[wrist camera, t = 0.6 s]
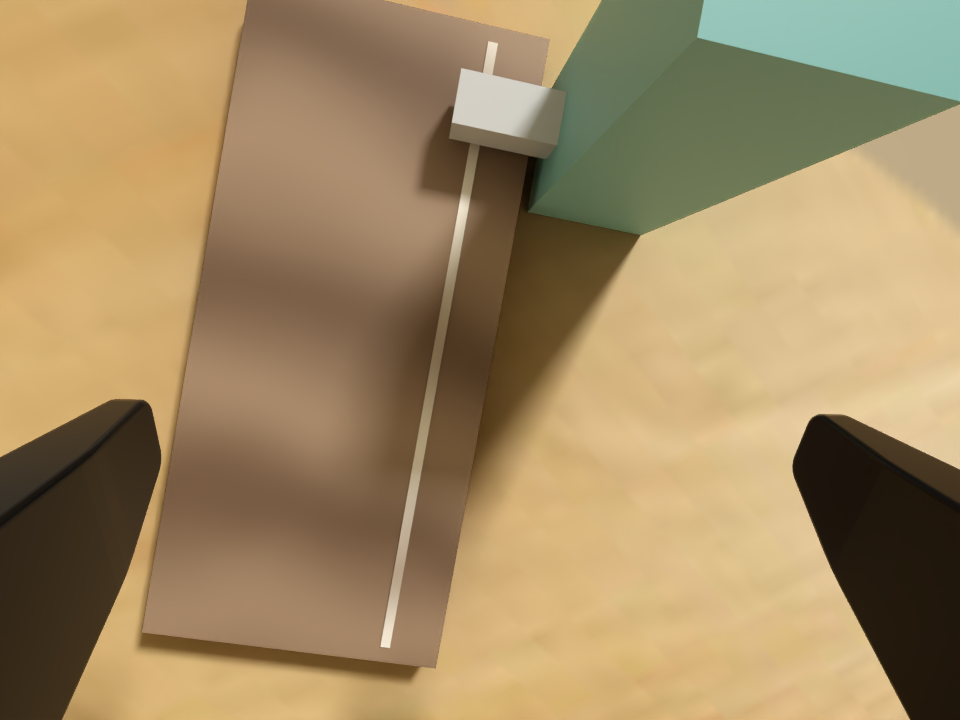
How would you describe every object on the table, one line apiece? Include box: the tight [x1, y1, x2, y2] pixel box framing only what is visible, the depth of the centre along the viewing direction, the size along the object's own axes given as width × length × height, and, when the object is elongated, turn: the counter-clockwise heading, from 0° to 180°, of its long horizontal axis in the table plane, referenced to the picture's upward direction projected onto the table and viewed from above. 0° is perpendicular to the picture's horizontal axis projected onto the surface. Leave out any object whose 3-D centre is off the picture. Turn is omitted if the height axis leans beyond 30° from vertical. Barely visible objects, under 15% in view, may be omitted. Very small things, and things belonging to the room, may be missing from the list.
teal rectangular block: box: [449, 0, 960, 235], centre depth 15 cm, size 4×7×13 cm, turn 80°
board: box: [142, 0, 550, 668], centre depth 20 cm, size 20×9×2 cm, turn 169°
